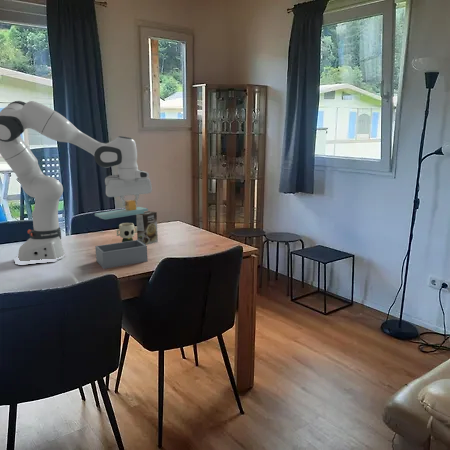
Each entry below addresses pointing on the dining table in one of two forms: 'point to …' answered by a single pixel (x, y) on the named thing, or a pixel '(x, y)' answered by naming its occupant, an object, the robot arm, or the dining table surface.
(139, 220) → the coffee box
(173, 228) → the dining table surface
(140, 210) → the lid
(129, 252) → the tub
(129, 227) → the character mug
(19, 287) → the dining table surface
